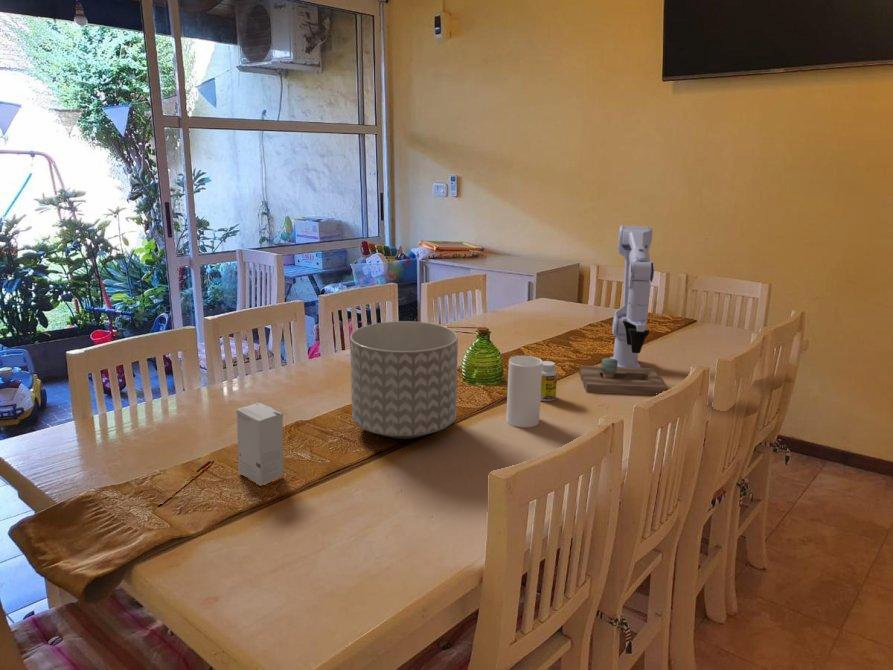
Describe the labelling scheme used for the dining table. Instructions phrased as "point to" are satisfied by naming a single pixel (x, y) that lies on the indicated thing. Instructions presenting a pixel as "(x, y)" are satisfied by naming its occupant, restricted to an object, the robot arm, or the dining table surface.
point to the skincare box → (260, 443)
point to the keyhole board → (622, 380)
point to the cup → (524, 391)
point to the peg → (609, 367)
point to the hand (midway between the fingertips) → (633, 348)
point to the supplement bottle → (548, 381)
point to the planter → (404, 378)
